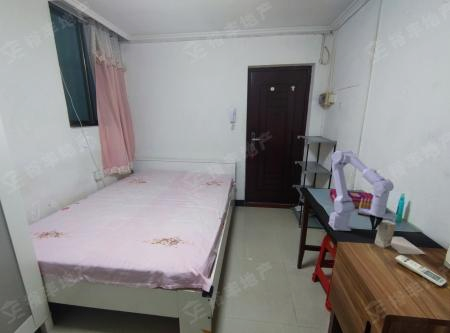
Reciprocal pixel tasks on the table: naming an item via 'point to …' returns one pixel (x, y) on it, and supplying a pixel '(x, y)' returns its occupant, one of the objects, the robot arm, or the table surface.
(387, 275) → the table surface
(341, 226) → the robot arm
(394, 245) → the mat
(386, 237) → the skincare box
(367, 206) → the ammunition clip
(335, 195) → the book
